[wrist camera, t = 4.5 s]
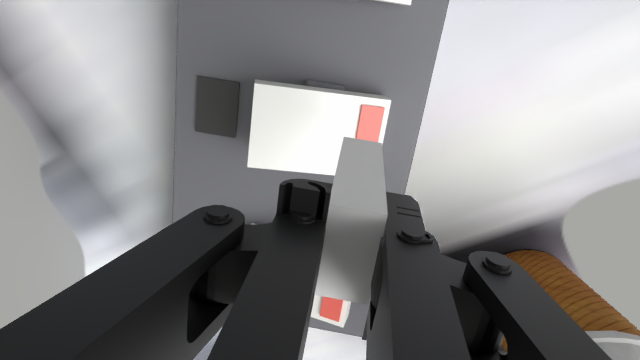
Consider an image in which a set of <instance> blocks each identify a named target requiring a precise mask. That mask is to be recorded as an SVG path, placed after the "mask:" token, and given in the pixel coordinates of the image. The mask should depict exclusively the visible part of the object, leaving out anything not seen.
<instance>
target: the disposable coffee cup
mask: <svg viewBox="0 0 640 360" xmlns="http://www.w3.org/2000/svg"><path fill="white" fill-rule="evenodd" d="M505 256H507V257H508V258H509V259H511V260H513V261H515V262H516V263H518V264H519V265H520V266H521V267H522V268H523V269H524V270H525V271H526V272H527V273H528V274H529V275H530V276H531V277H532V278H533V279H534V280H535V281H536V282H537V283H538V284H539V285H540V286H541V287H542V288H543V289H544V290H545V291H546V292H547V293H548V294H549V295H550V296H551V297H552V298H553V299H554V300H555V301H556V302H557V304H558V305H559V306H560V307H561V308H562V309H563V310H564V311H565V312H566V313H567V314H568V315H569V316H570V317H571V318H572V319H573V320H574V321H575V322H576V323H577V324H578V325H579V326H580V327H581V328H582V329H583V330H584V331H585V332H586V333H587V334H588V335H589V336H590V337H591V338H592V340H593V341H594V342H595V343H596V344H597V345H598V346H599V347H600V348H601V349H602V350H603V351H604V352H605V353H606V354H607V355H608V356H609V357H610V358H611V359H612V360H640V331H639V330H638V329H637V328H636V327H635V326H634V325H633V324H631V323H630V322H629V321H628V320H627V319H626V318H625V317H623V316H622V315H621V314H620V313H619V312H618V311H617V310H615V309H614V308H613V307H612V306H611V305H610V304H608V303H607V302H606V301H605V300H604V299H603V298H601V296H600V295H598V294H597V293H596V292H594V290H593V289H591V288H590V287H589V286H588V285H587V284H586V283H584V282H583V281H582V280H581V279H580V278H579V277H577V275H575V274H574V273H573V272H572V271H571V270H570V269H568V268H567V267H566V266H565V265H564V264H563V263H562V262H561V261H560V260H558V259H557V258H555V257H554V256H552V255H550V254H548V253H545V252H541V251H537V250H520V251H515V252H511V253H508V254H505ZM501 345H502V347H503V348H504V350H505V351H506V352H507V353H508V349H507V343H506V339H505V337H504V338H503V340H502V343H501Z"/></svg>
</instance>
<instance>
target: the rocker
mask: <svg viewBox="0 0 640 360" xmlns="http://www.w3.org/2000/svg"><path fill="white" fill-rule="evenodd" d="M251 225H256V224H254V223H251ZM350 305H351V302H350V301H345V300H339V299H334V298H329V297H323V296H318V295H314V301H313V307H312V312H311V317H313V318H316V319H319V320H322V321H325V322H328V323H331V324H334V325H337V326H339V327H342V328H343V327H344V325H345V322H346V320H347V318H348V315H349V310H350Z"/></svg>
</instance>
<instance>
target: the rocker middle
mask: <svg viewBox="0 0 640 360" xmlns="http://www.w3.org/2000/svg"><path fill="white" fill-rule="evenodd" d="M390 104H391V100H390V99H389V98H388V97H386V96H383V95H375V94H367V93H359V92H351V91H343V90H335V89H327V88H319V87H311V86H303V85H295V84H287V83H279V82H272V81H264V80H256V79H255V84H254V95H253V106H252V118H251V129H250V141H249V152H248V163H247V167H250V168H261V169H272V170H282V171H293V172H303V173H314V174H325V175H335V173H336V168H337V164H338V159H339V155H340V151H341V146H342V142H343V137H350V138H356V139H362V140H368V141H374V142H380V143H382V144H383V139H384V134H385V129H386V124H387V119H388V114H389V109H390Z"/></svg>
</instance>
